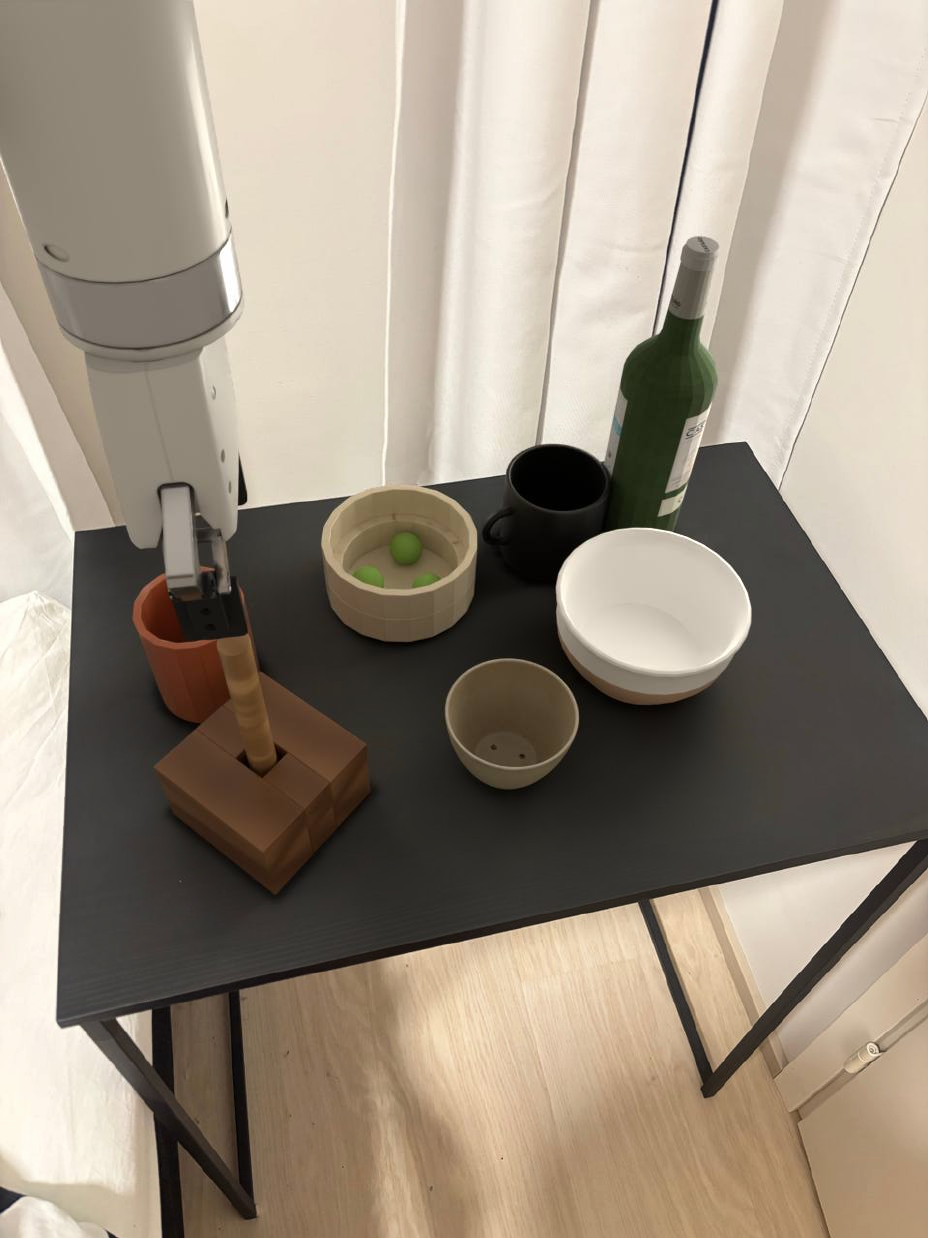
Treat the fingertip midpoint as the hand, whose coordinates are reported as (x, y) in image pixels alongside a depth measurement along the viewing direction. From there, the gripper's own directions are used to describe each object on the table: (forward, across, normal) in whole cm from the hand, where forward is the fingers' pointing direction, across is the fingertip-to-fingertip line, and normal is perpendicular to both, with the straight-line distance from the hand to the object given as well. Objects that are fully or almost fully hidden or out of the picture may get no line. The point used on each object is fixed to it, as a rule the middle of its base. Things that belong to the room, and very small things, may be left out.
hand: (218, 565), depth 50 cm
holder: (+27, 0, 0) cm, 27 cm away
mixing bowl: (+27, -20, +12) cm, 36 cm away
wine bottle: (+27, -25, +35) cm, 51 cm away
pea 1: (+25, -20, +8) cm, 33 cm away
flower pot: (+27, -1, +18) cm, 33 cm away
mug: (+27, -24, +25) cm, 44 cm away
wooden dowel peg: (+27, 0, 0) cm, 27 cm away
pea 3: (+25, -18, +14) cm, 34 cm away
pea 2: (+25, -24, +12) cm, 36 cm away
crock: (+27, -12, -5) cm, 30 cm away
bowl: (+27, -11, +31) cm, 43 cm away
